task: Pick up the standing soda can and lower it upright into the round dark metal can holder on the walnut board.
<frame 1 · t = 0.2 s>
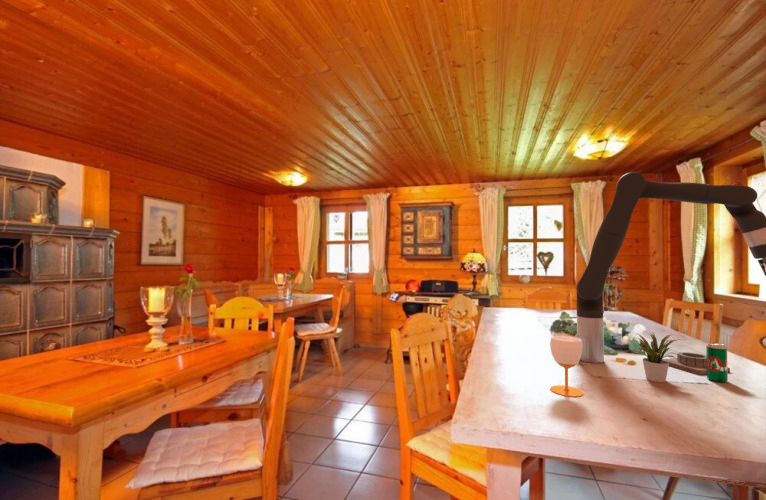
can holder: (693, 367, 133), on the table
soda can: (717, 381, 119), on the table
cup: (566, 392, 109), on the table
house plant: (660, 380, 119), on the table
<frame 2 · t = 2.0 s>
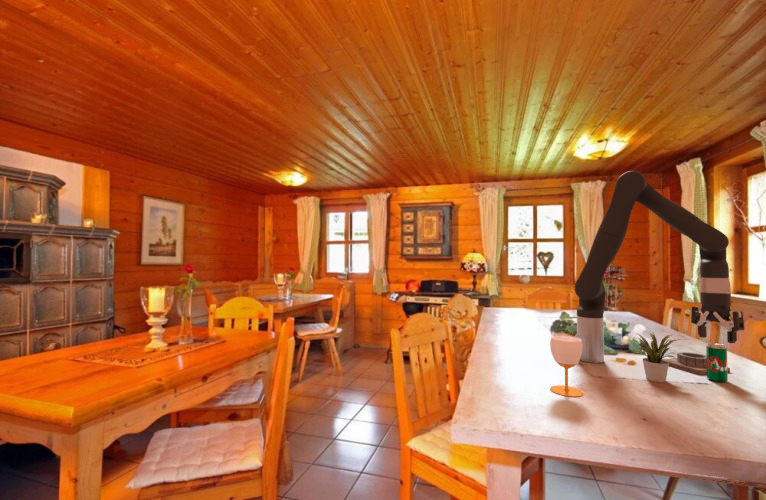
hand: (716, 340, 119), 13 cm above the table, tool pointing down, fingers open, 8 cm apart
nothing on the table moved.
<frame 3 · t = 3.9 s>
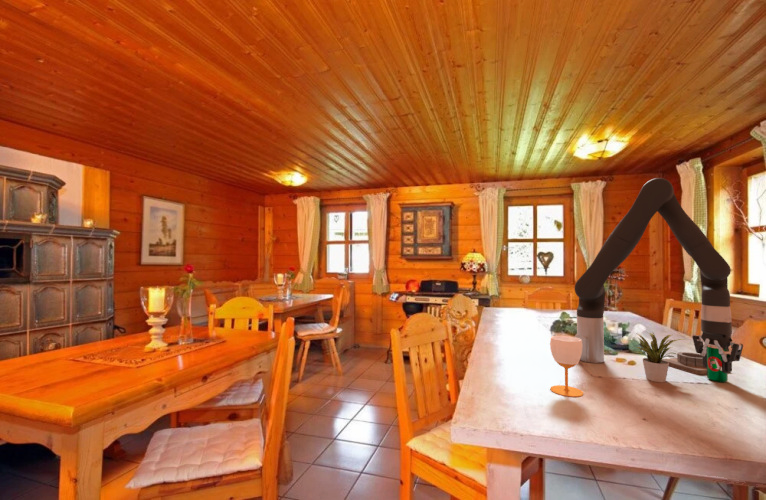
hand: (717, 370, 119), 3 cm above the table, tool pointing down, fingers closed on soda can, 5 cm apart
soda can: (717, 381, 119), on the table, touching gripper
everything else where it was.
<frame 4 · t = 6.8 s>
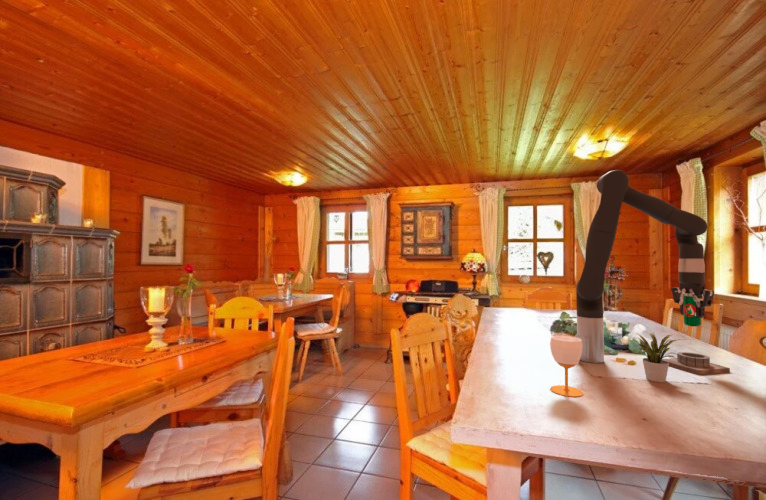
hand: (692, 316, 133), 19 cm above the table, tool pointing down, fingers closed on soda can, 5 cm apart
soda can: (692, 326, 133), point 15 cm above the table, touching gripper
everything else where it was.
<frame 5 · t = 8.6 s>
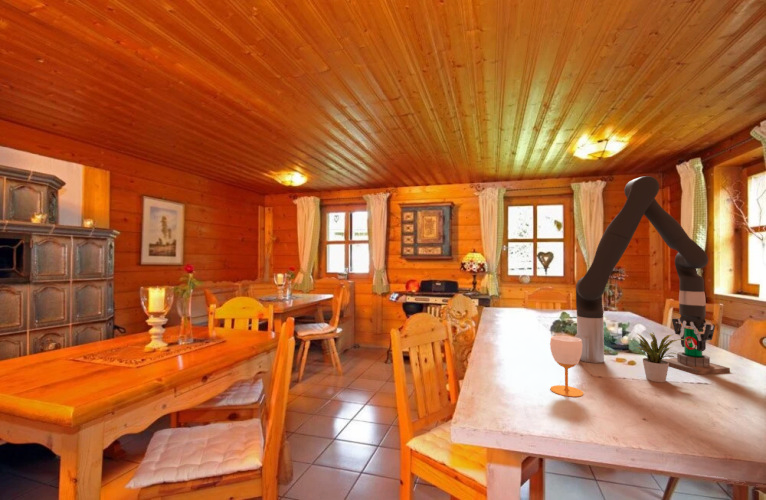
hand: (693, 348, 133), 7 cm above the table, tool pointing down, fingers closed on soda can, 5 cm apart
soda can: (693, 358, 133), point 3 cm above the table, touching gripper
everything else where it was.
when the fingers open (6 cm above the table, at t = 9.8 s): soda can drops 1 cm, resting on can holder.
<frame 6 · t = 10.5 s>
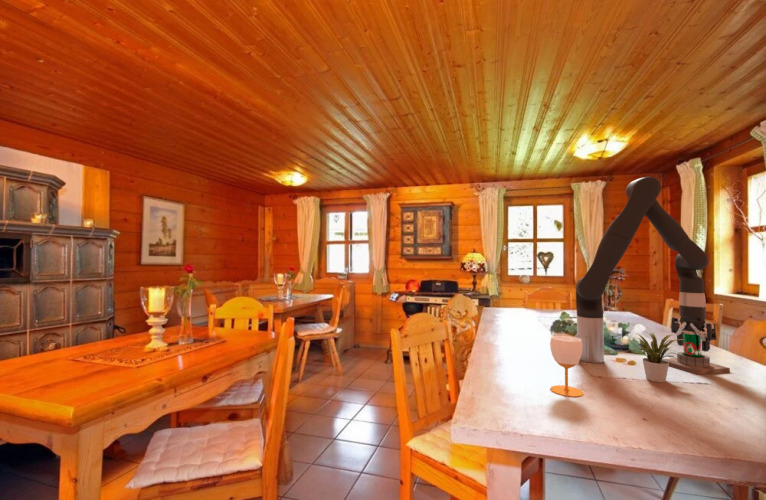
hand: (693, 348, 133), 7 cm above the table, tool pointing down, fingers open, 8 cm apart
soda can: (692, 363, 133), point 1 cm above the table, touching can holder
everything else where it was.
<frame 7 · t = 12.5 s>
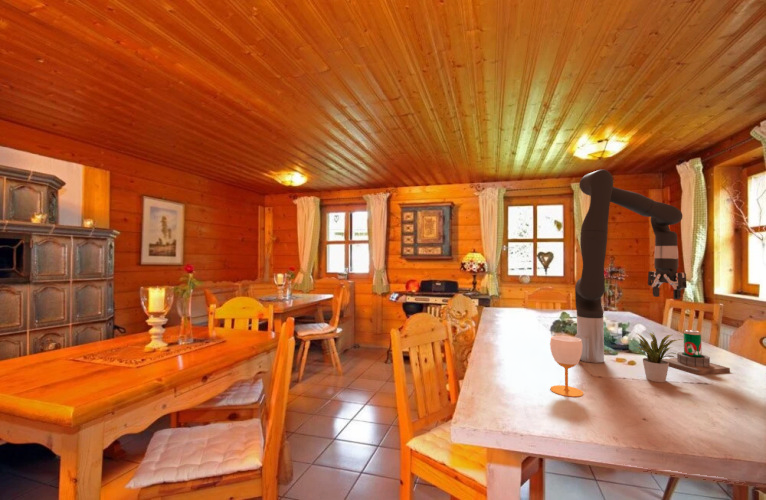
hand: (666, 297, 143), 25 cm above the table, tool pointing down, fingers open, 8 cm apart
nothing on the table moved.
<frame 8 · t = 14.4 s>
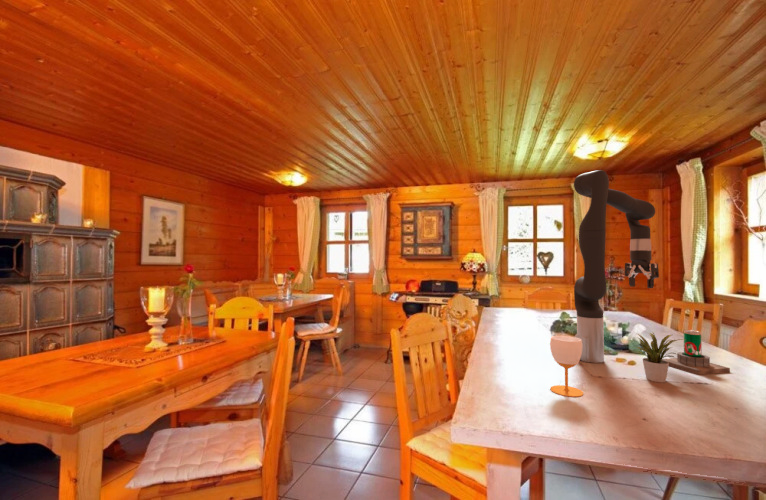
hand: (641, 287, 154), 28 cm above the table, tool pointing down, fingers open, 8 cm apart
nothing on the table moved.
at the end: soda can 0.1 cm off-centre on the can holder, point 1.3 cm above the can holder's base; soda can tilted 0°; the gripper is holding nothing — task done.
